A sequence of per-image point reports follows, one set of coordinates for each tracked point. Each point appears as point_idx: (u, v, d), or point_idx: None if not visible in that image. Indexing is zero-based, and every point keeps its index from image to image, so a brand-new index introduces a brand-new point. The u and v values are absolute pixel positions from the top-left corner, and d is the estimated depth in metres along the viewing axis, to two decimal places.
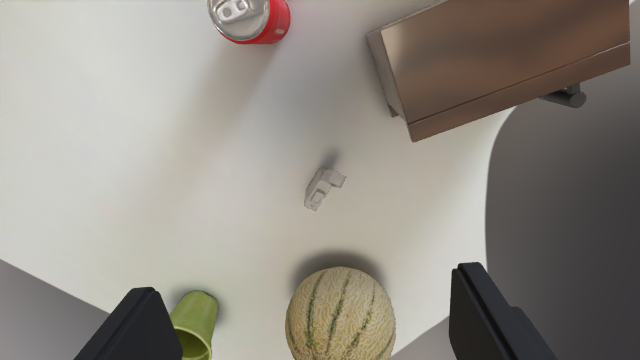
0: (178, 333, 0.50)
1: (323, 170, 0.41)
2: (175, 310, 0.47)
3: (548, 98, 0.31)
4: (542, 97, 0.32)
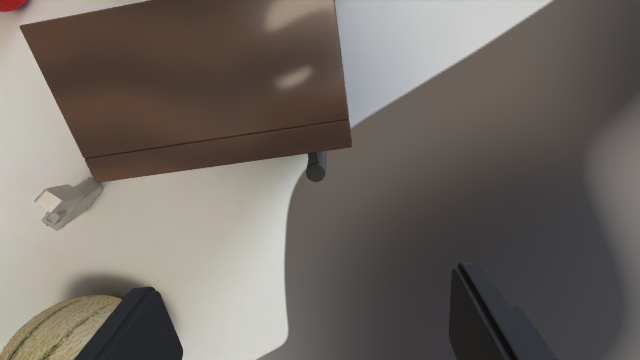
0: None
1: (87, 182, 0.33)
2: None
3: None
4: None
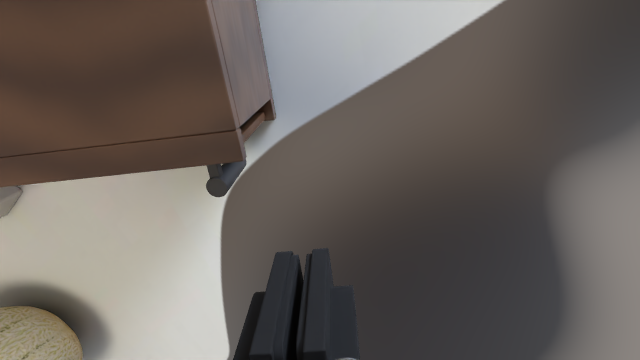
0: None
1: None
2: None
3: None
4: None
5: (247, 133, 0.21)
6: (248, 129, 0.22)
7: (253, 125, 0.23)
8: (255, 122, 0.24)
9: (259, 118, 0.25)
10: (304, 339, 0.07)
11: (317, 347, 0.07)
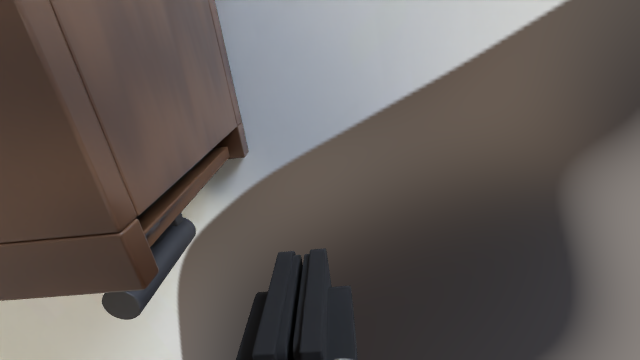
0: None
1: None
2: None
3: None
4: None
5: (182, 200, 0.12)
6: (185, 191, 0.12)
7: (200, 178, 0.14)
8: (205, 171, 0.14)
9: (216, 160, 0.16)
10: (301, 340, 0.07)
11: (314, 348, 0.07)
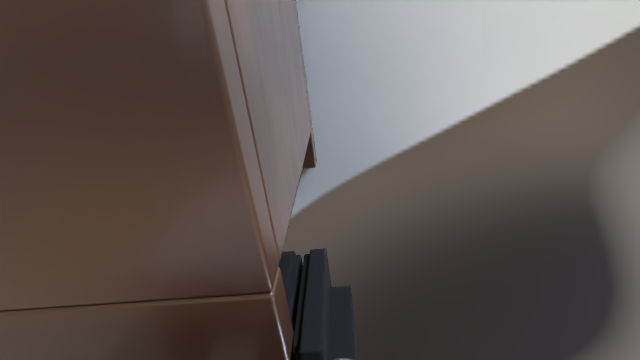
0: None
1: None
2: None
3: None
4: None
5: None
6: None
7: None
8: None
9: None
10: (301, 340, 0.07)
11: (314, 348, 0.07)
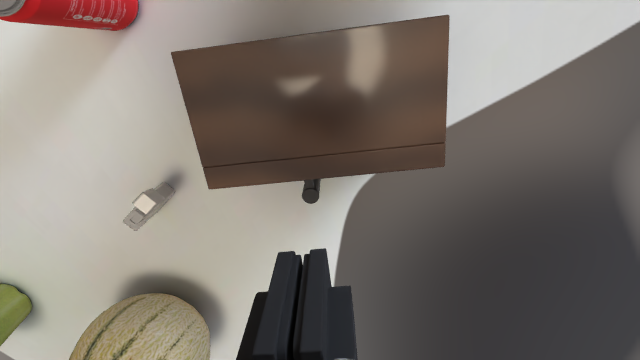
0: None
1: (162, 186, 0.36)
2: None
3: None
4: None
5: None
6: None
7: None
8: None
9: None
10: (301, 340, 0.07)
11: (314, 348, 0.07)
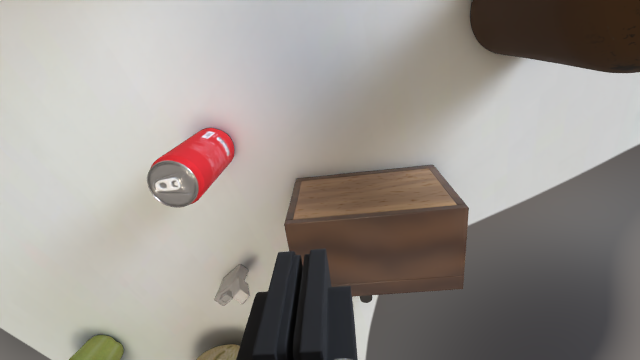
0: None
1: (240, 269, 0.47)
2: (78, 355, 0.50)
3: None
4: None
5: None
6: None
7: None
8: None
9: None
10: (301, 340, 0.07)
11: (314, 348, 0.07)
